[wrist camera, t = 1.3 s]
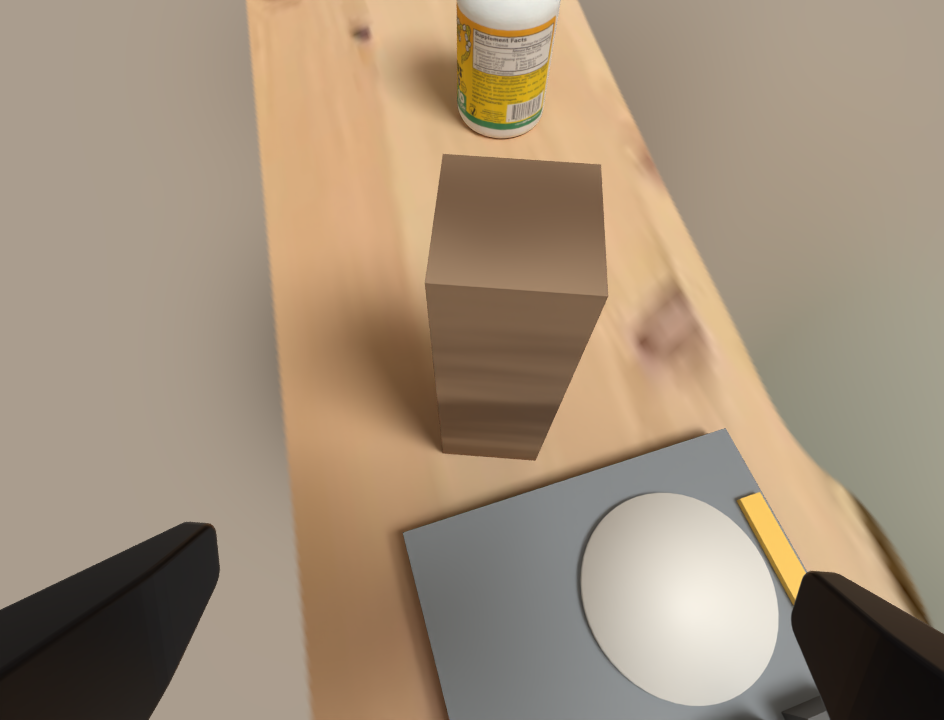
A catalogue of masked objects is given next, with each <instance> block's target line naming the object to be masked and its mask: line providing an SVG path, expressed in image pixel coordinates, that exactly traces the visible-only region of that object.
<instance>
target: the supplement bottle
mask: <svg viewBox="0 0 944 720" xmlns="http://www.w3.org/2000/svg"><path fill="white" fill-rule="evenodd" d="M559 7H560V0H457V104H458V110H459V113H460V115H461V117H462V119H463V120H464V122H465V123H466V124H467V125H468V126H469V127H470V128H471V129H472V130H474V131H476V132H477V133H479V134H482V135H485V136H488V137H494V138H511V137H515V136H519V135H522V134H524V133H526V132H528V131H529V130H531V129H532V128H533V127H534V126H535V125H536V124H537V123H538V121H539V120H540V118H541V116H542V113H543V108H544V101H545V95H546V88H547V82H548V76H549V69H550V63H551V56H552V50H553V44H554V38H555V32H556V26H557V20H558V14H559Z"/></svg>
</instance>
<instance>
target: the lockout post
mask: <svg viewBox="0 0 944 720" xmlns="http://www.w3.org/2000/svg"><path fill="white" fill-rule="evenodd" d="M425 289H426V299H427V308H428V318H429V327H430V337H431V346H432V355H433V365H434V374H435V384H436V393H437V403H438V412H439V422H440V431H441V440H442V450H443V453H445V454H458V455H471V456H484V457H497V458H510V459H523V460H536V458H537V456H538V453H539V451H540V449H541V447H542V444H543V442H544V440H545V438H546V435H547V433H548V431H549V429H550V426H551V424H552V422H553V420H554V417H555V415H556V413H557V411H558V408H559V406H560V404H561V402H562V399H563V397H564V395H565V393H566V390H567V388H568V386H569V384H570V381H571V379H572V377H573V374H574V372H575V370H576V368H577V365H578V363H579V361H580V359H581V356H582V354H583V352H584V350H585V347H586V345H587V343H588V341H589V338H590V336H591V334H592V332H593V329H594V327H595V325H596V323H597V320H598V318H599V316H600V314H601V311H602V309H603V307H604V305H605V302H606V300H607V298H608V284H607V266H606V248H605V230H604V212H603V194H602V176H601V165H599V164H584V163H569V162H554V161H540V160H525V159H510V158H495V157H480V156H465V155H450V154H443V157H442V164H441V172H440V179H439V186H438V193H437V200H436V207H435V214H434V222H433V229H432V236H431V243H430V250H429V257H428V264H427V271H426V279H425Z"/></svg>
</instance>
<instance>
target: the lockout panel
mask: <svg viewBox="0 0 944 720" xmlns="http://www.w3.org/2000/svg"><path fill="white" fill-rule="evenodd" d="M403 536H404V540H405V544H406V548H407V552H408V556H409V560H410V564H411V568H412V572H413V576H414V580H415V584H416V588H417V592H418V596H419V600H420V604H421V608H422V612H423V616H424V620H425V624H426V628H427V632H428V636H429V640H430V644H431V648H432V652H433V656H434V660H435V664H436V668H437V672H438V676H439V680H440V684H441V688H442V692H443V696H444V700H445V704H446V708H447V712H448V716H449V720H830V719H829V716H828V714H827V711H826V709H825V707H824V704H823V702H822V700H821V697H820V695H819V692H818V690H817V688H816V685H815V683H814V681H813V678H812V676H811V673H810V671H809V669H808V666H807V664H806V662H805V659H804V657H803V654H802V652H801V650H800V647H799V645H798V642H797V640H796V638H795V635H794V633H793V630H792V626H791V613H792V609H793V606H794V603H795V600H796V596H797V593H798V590H799V587H800V583H801V580H802V578H803V576H804V575H805V574H806V573H807V571H806V569H805V567H804V565H803V564H802V562H801V560H800V558H799V557H798V555H797V553H796V551H795V550H794V548H793V546H792V544H791V543H790V541H789V539H788V537H787V535H786V534H785V532H784V530H783V528H782V527H781V525H780V523H779V521H778V520H777V518H776V516H775V514H774V513H773V511H772V509H771V507H770V506H769V504H768V502H767V500H766V499H765V497H764V495H763V493H762V491H761V490H760V488H759V486H758V484H757V483H756V481H755V479H754V477H753V476H752V474H751V472H750V470H749V469H748V467H747V465H746V463H745V462H744V460H743V458H742V456H741V454H740V453H739V451H738V449H737V447H736V446H735V444H734V442H733V440H732V439H731V437H730V435H729V433H728V432H727V430H726V428H724V429H721V430H718V431H715V432H712V433H709V434H706V435H703V436H700V437H697V438H694V439H690V440H687V441H684V442H681V443H678V444H675V445H672V446H669V447H666V448H663V449H660V450H657V451H653V452H650V453H647V454H644V455H641V456H638V457H635V458H632V459H629V460H626V461H623V462H619V463H616V464H613V465H610V466H607V467H604V468H601V469H598V470H595V471H592V472H589V473H586V474H582V475H579V476H576V477H573V478H570V479H567V480H564V481H561V482H558V483H555V484H552V485H548V486H545V487H542V488H539V489H536V490H533V491H530V492H527V493H524V494H521V495H518V496H514V497H511V498H508V499H505V500H502V501H499V502H496V503H493V504H490V505H487V506H484V507H481V508H477V509H474V510H471V511H468V512H465V513H462V514H459V515H456V516H453V517H450V518H447V519H443V520H440V521H437V522H434V523H431V524H428V525H425V526H422V527H419V528H416V529H413V530H410V531H406V532H403Z"/></svg>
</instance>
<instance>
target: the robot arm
mask: <svg viewBox="0 0 944 720" xmlns="http://www.w3.org/2000/svg"><path fill="white" fill-rule="evenodd" d="M219 571H220V565H219V556H218V546H217V537H216V530H215V528H214V526H213V525H211V524H209V523H198V522H197V523H196V522H184V523H182V524H180V525H178V526H176V527H173V528H171V529H169V530H167V531H165V532H163V533H161V534H159V535H156V536H154V537H152V538H150V539H148V540H146V541H144V542H142V543H140V544H138V545H135V546H133V547H131V548H129V549H127V550H125V551H123V552H121V553H119V554H117V555H115V556H112V557H110V558H108V559H106V560H104V561H102V562H100V563H98V564H96V565H93V566H91V567H89V568H87V569H85V570H83V571H81V572H79V573H77V574H75V575H73V576H70V577H68V578H66V579H64V580H62V581H60V582H58V583H56V584H54V585H51V586H49V587H47V588H45V589H43V590H41V591H39V592H37V593H35V594H33V595H31V596H28V597H26V598H24V599H22V600H20V601H18V602H16V603H14V604H12V605H9V606H7V607H5V608H3V609H1V610H0V720H149V718H150V716H151V715H152V713H153V711H154V710H155V708H156V706H157V705H158V703H159V701H160V699H161V698H162V696H163V694H164V692H165V690H166V689H167V687H168V685H169V683H170V681H171V679H172V677H173V675H174V673H175V671H176V669H177V667H178V665H179V663H180V661H181V659H182V657H183V655H184V652H185V650H186V648H187V646H188V644H189V642H190V640H191V638H192V635H193V633H194V631H195V629H196V627H197V625H198V622H199V621H200V618H201V616H202V614H203V612H204V610H205V607H206V606H207V604H208V601H209V599H210V597H211V595H212V593H213V591H214V589H215V586H216V584H217V581H218V578H219ZM791 626H792V630H793V633H794V635H795V638H796V640H797V642H798V645H799V647H800V650H801V652H802V654H803V657H804V659H805V662H806V664H807V666H808V669H809V671H810V673H811V676H812V678H813V681H814V683H815V685H816V688H817V690H818V692H819V695H820V697H821V700H822V702H823V704H824V707H825V709H826V711H827V714H828V716H829V719H830V720H944V634H943V633H941V632H939V631H938V630H936V629H934V628H932V627H931V626H929V625H927V624H925V623H924V622H922V621H920V620H918V619H917V618H915V617H913V616H911V615H910V614H908V613H906V612H905V611H903V610H901V609H899V608H898V607H896V606H894V605H892V604H891V603H889V602H887V601H885V600H884V599H882V598H880V597H878V596H877V595H875V594H873V593H871V592H870V591H868V590H866V589H864V588H863V587H861V586H859V585H857V584H856V583H854V582H852V581H851V580H849V579H847V578H845V577H844V576H842V575H840V574H837V573H833V572H820V571H809V572H807V573H806V574H805V575H804V576H803V578H802V580H801V583H800V587H799V590H798V593H797V596H796V600H795V603H794V606H793V609H792V613H791Z"/></svg>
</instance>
